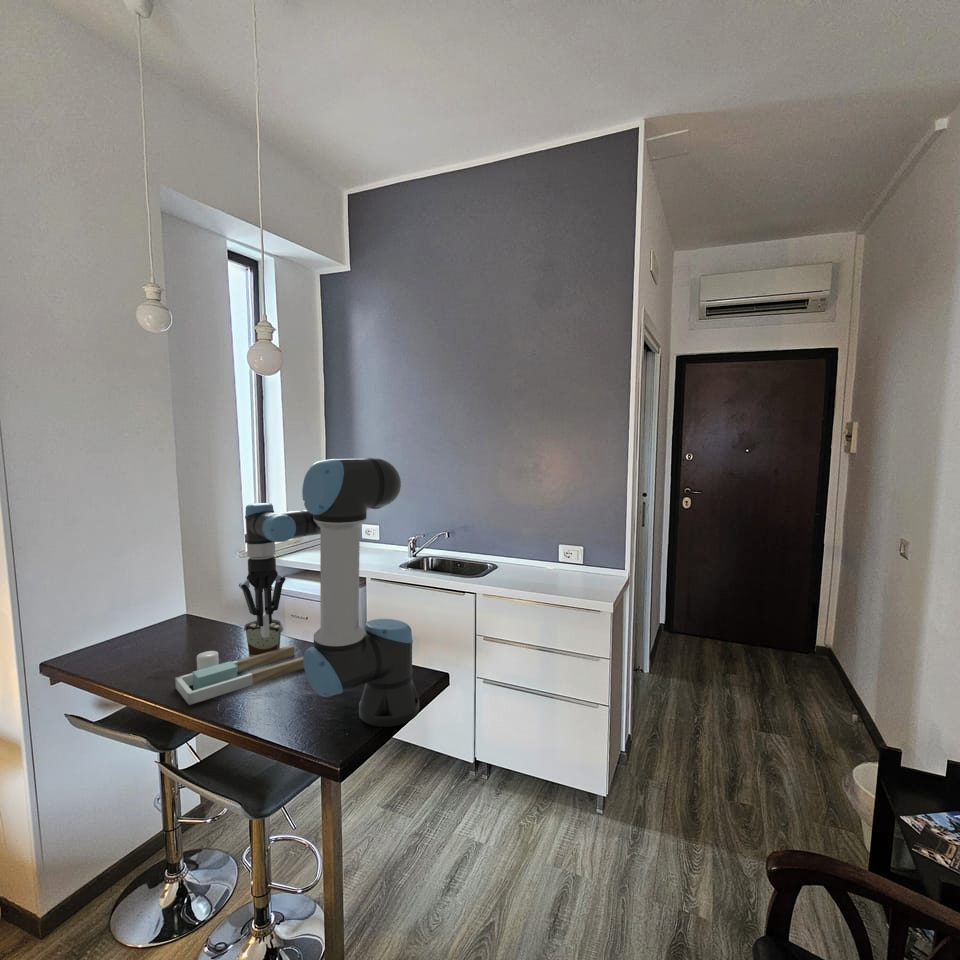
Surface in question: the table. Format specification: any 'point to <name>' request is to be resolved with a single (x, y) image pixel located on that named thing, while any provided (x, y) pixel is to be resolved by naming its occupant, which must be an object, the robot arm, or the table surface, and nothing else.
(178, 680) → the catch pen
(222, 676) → the pale teal block
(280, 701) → the table surface
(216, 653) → the white rounded capsule
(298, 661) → the guide channel
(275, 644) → the food container
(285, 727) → the table surface
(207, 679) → the pale teal cube
